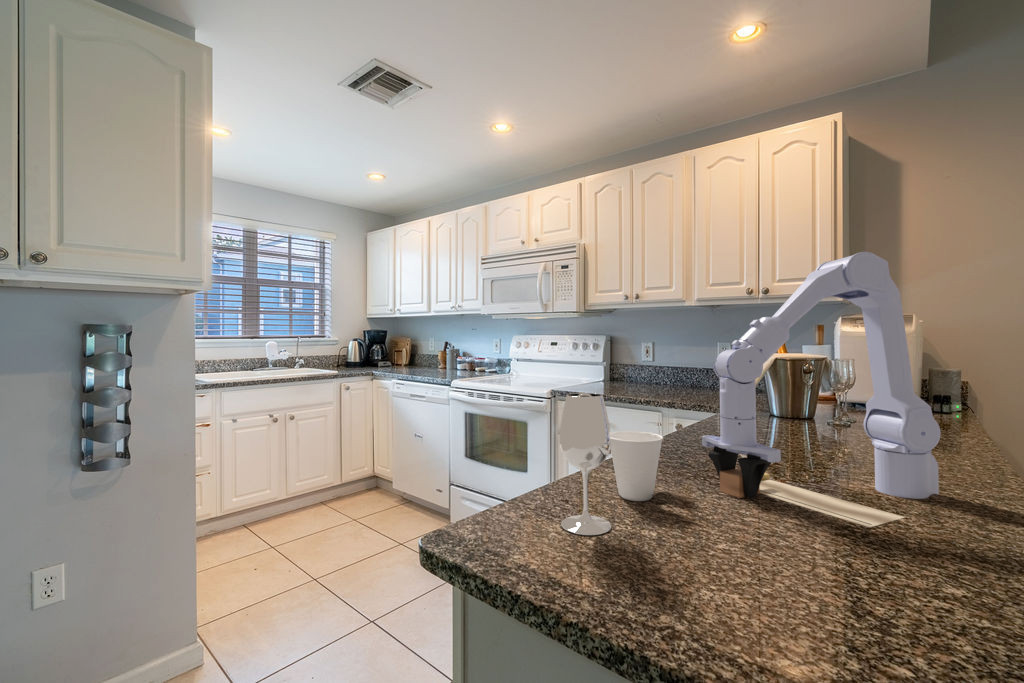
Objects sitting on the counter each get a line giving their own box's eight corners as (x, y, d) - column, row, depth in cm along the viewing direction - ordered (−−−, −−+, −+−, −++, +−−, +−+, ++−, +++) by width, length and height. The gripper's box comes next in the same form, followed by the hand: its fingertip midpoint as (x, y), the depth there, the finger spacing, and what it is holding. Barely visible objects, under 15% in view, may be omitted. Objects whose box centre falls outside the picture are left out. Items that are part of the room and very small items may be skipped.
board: (770, 487, 89) (769, 479, 89) (905, 527, 69) (905, 517, 69) (736, 493, 85) (736, 485, 85) (869, 537, 65) (869, 527, 65)
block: (757, 492, 86) (756, 465, 86) (777, 498, 82) (776, 470, 82) (720, 499, 82) (719, 471, 82) (739, 506, 79) (738, 476, 79)
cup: (667, 507, 79) (666, 442, 79) (608, 503, 81) (607, 440, 81) (660, 489, 88) (660, 431, 89) (607, 486, 90) (607, 430, 91)
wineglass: (617, 521, 73) (615, 393, 73) (605, 540, 65) (603, 398, 66) (569, 513, 76) (568, 391, 76) (553, 531, 69) (551, 396, 69)
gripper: (689, 413, 87) (690, 486, 86) (759, 425, 73) (760, 511, 73) (716, 411, 89) (718, 481, 89) (788, 421, 76) (790, 504, 76)
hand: (739, 494), depth 81 cm, fingers closed on block, 4 cm apart
